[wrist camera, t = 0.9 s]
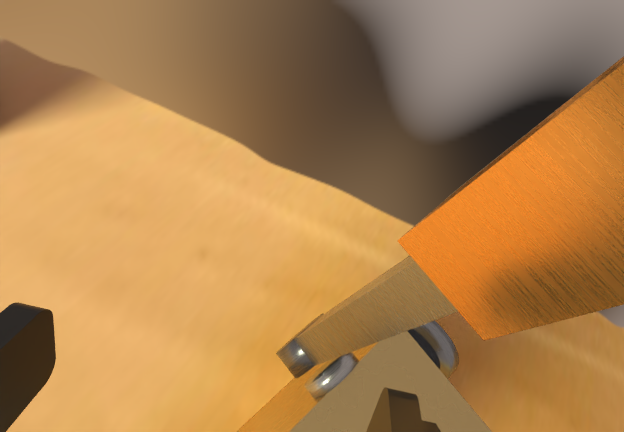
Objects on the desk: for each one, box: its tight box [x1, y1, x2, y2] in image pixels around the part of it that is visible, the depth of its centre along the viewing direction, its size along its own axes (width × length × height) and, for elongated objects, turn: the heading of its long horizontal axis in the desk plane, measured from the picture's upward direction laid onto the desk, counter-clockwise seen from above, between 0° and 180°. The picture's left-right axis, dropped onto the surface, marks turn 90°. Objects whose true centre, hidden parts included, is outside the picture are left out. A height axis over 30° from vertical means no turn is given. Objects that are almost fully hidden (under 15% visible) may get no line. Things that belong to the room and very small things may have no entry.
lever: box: [276, 57, 624, 378], centre depth 15 cm, size 3×3×22 cm
